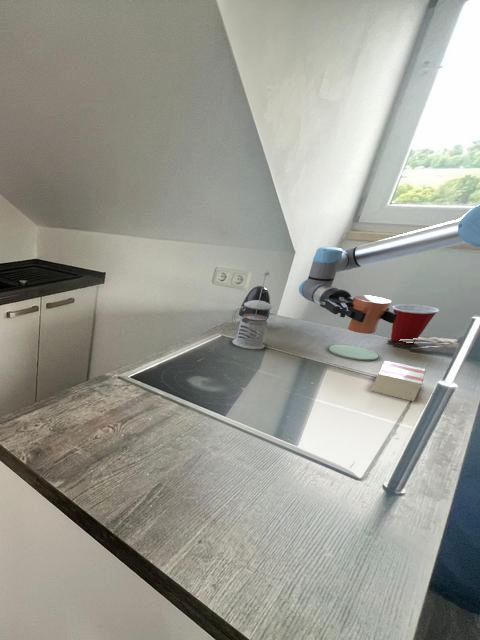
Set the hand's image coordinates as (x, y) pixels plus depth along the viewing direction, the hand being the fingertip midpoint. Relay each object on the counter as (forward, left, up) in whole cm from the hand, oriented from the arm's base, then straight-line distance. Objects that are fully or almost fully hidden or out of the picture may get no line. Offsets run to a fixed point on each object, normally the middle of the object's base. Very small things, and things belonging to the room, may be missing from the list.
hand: (378, 318), depth 115 cm
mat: (0, -5, -13) cm, 14 cm away
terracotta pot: (0, -5, -5) cm, 7 cm away
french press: (+30, -8, -13) cm, 34 cm away
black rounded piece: (+22, -30, -13) cm, 40 cm away
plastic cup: (-21, -20, -13) cm, 32 cm away
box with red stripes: (+2, +20, -13) cm, 24 cm away
